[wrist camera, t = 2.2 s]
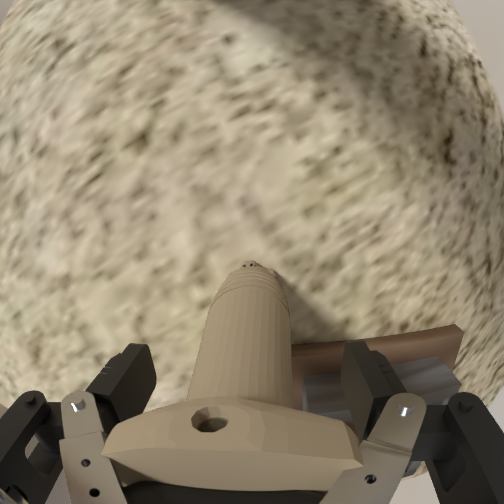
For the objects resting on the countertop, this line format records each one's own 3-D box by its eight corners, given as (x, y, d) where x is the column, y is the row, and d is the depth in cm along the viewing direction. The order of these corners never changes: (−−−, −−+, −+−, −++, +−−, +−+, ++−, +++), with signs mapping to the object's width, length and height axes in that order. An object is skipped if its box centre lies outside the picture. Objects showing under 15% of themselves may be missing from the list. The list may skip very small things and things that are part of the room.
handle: (199, 252, 19) (64, 428, 4) (298, 241, 18) (388, 429, 4) (211, 319, 20) (143, 519, 5) (303, 309, 20) (354, 519, 5)
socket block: (270, 346, 20) (271, 396, 15) (455, 324, 20) (489, 356, 14) (272, 464, 24) (272, 505, 19) (411, 442, 23) (426, 476, 18)
